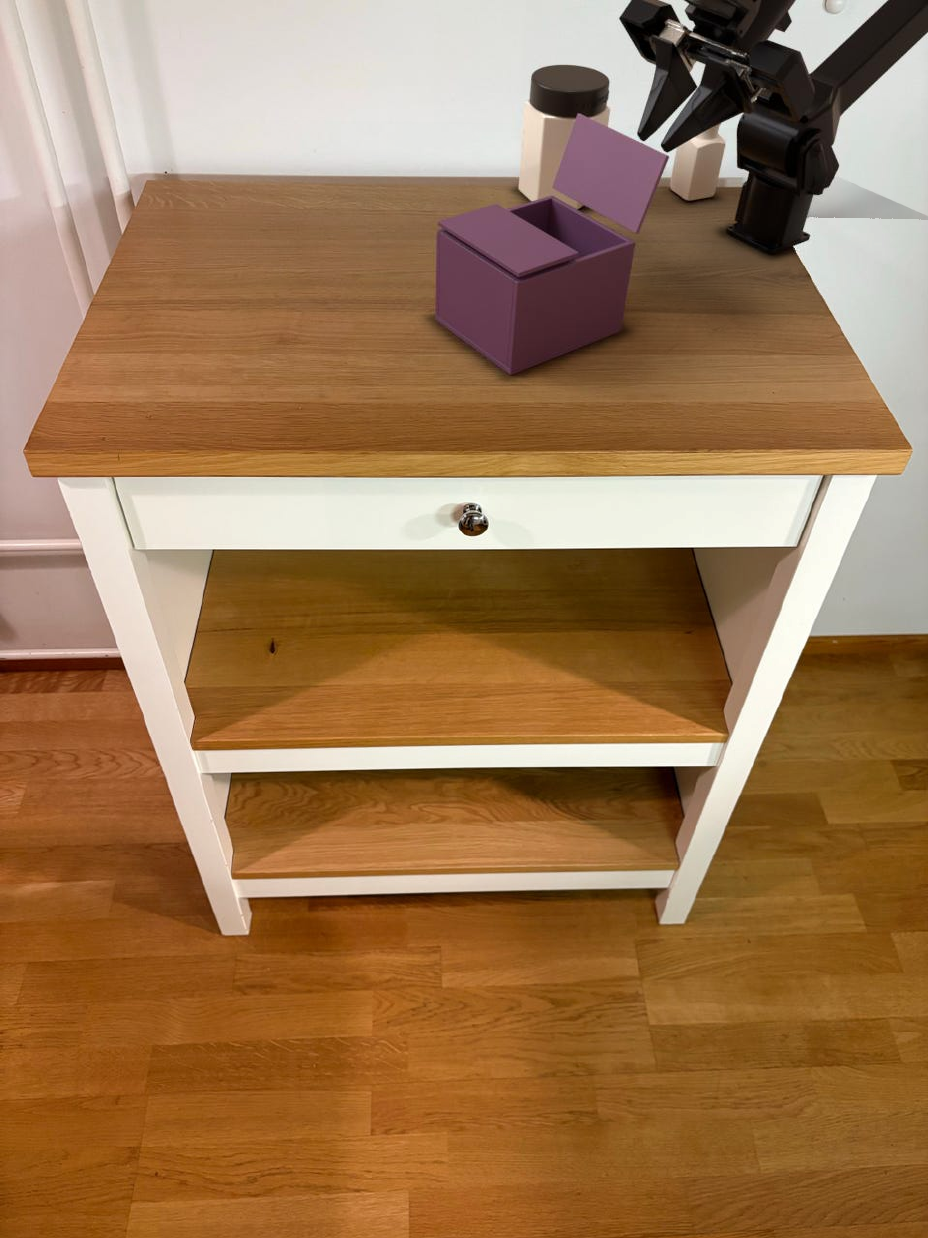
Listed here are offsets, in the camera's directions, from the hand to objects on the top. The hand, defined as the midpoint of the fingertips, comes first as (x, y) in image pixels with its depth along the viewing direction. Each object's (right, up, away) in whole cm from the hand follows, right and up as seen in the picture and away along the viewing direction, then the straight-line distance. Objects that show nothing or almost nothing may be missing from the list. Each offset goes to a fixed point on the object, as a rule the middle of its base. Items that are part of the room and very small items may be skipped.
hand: (651, 143), depth 86 cm
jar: (-6, +6, +24) cm, 26 cm away
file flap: (-4, -3, -1) cm, 5 cm away
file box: (-11, -15, +4) cm, 19 cm away
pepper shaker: (+9, +7, +26) cm, 28 cm away
